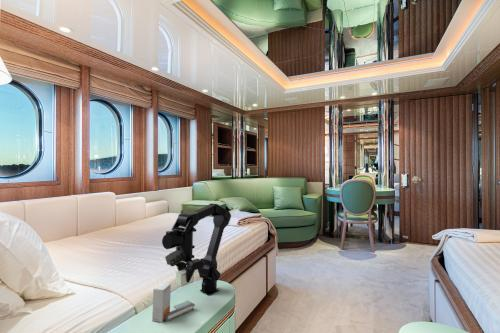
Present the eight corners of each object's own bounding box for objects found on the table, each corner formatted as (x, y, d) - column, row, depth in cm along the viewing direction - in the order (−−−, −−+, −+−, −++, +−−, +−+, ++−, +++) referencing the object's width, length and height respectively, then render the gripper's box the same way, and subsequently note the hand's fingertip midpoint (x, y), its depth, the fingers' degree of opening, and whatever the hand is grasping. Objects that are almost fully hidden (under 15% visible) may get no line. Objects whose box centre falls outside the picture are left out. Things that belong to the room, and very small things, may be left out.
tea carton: (175, 283, 108) (176, 271, 108) (187, 279, 112) (188, 268, 112) (181, 286, 105) (181, 274, 105) (193, 282, 109) (193, 270, 109)
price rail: (191, 308, 106) (191, 302, 106) (193, 309, 105) (193, 303, 105) (165, 320, 97) (165, 313, 97) (167, 321, 96) (167, 315, 96)
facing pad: (187, 300, 112) (187, 300, 112) (194, 304, 109) (194, 304, 109) (173, 306, 107) (173, 306, 107) (180, 311, 104) (180, 310, 104)
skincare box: (162, 322, 96) (163, 290, 96) (151, 321, 97) (152, 289, 97) (170, 314, 102) (171, 283, 102) (160, 312, 103) (161, 282, 103)
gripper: (157, 242, 109) (156, 279, 109) (181, 252, 97) (180, 294, 96) (179, 238, 117) (179, 272, 117) (205, 246, 105) (204, 285, 104)
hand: (184, 280), depth 108 cm, fingers closed on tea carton, 4 cm apart
